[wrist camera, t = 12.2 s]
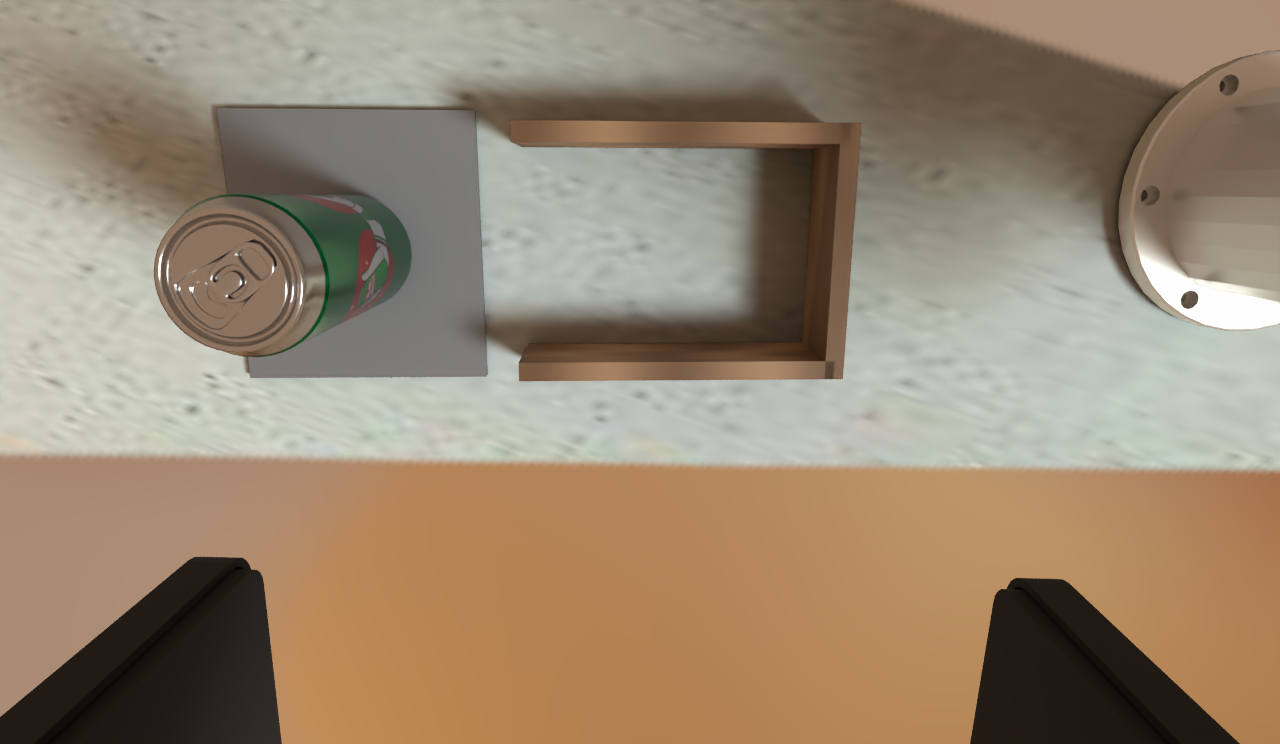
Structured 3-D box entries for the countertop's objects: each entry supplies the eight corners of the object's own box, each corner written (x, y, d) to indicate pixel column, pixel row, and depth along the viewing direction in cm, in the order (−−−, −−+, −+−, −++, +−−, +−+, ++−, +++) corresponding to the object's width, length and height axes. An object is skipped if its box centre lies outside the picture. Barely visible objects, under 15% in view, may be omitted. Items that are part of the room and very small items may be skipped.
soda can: (277, 240, 33) (101, 265, 21) (363, 170, 33) (230, 157, 21) (354, 328, 34) (226, 397, 23) (438, 261, 34) (352, 298, 22)
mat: (475, 111, 33) (473, 110, 32) (487, 374, 35) (486, 376, 35) (221, 108, 32) (216, 108, 32) (254, 375, 35) (250, 377, 35)
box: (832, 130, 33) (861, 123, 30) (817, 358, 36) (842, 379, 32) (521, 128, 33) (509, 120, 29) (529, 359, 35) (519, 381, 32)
